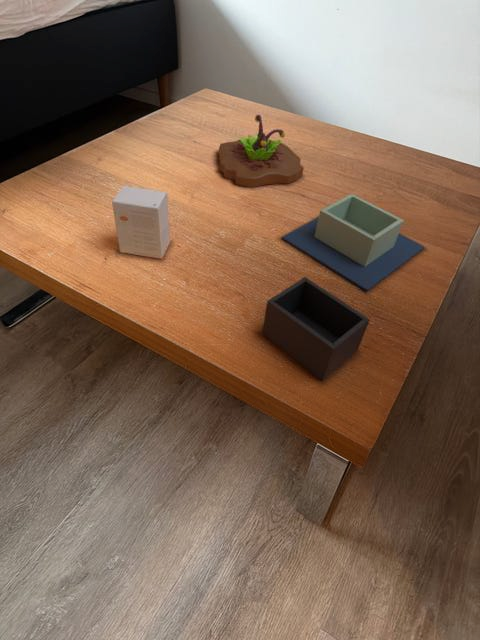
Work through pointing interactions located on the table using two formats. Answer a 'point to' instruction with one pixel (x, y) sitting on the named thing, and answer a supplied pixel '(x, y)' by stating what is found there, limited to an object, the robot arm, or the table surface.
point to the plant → (259, 160)
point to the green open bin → (358, 229)
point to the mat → (346, 265)
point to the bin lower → (314, 327)
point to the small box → (142, 221)
